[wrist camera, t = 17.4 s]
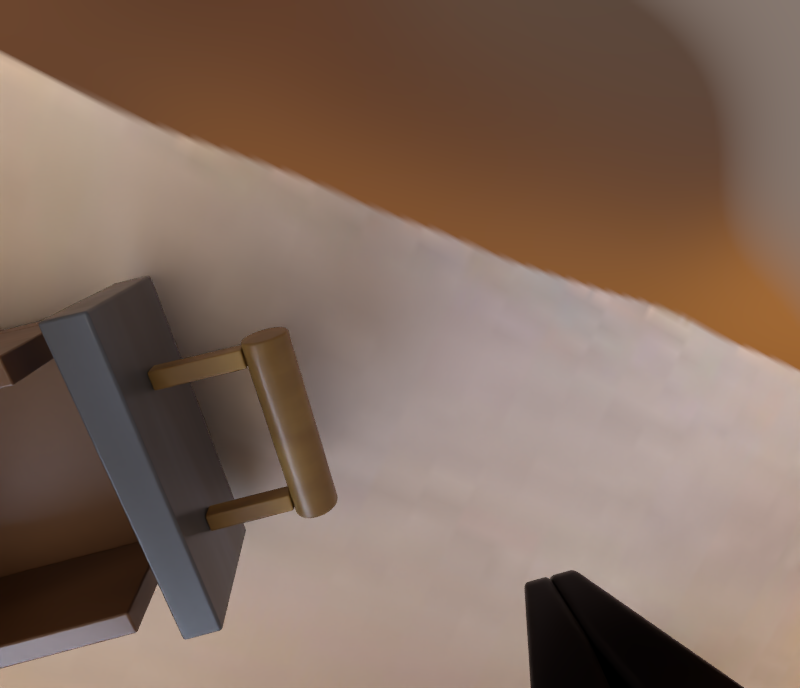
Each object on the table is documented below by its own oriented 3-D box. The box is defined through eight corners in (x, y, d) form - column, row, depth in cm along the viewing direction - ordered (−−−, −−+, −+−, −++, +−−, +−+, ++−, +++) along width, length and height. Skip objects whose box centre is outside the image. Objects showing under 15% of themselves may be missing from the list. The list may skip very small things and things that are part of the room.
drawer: (276, 246, 17) (257, 270, 13) (350, 503, 20) (355, 595, 16) (-350, 389, 16) (-612, 472, 12) (-164, 636, 19) (-312, 773, 15)
